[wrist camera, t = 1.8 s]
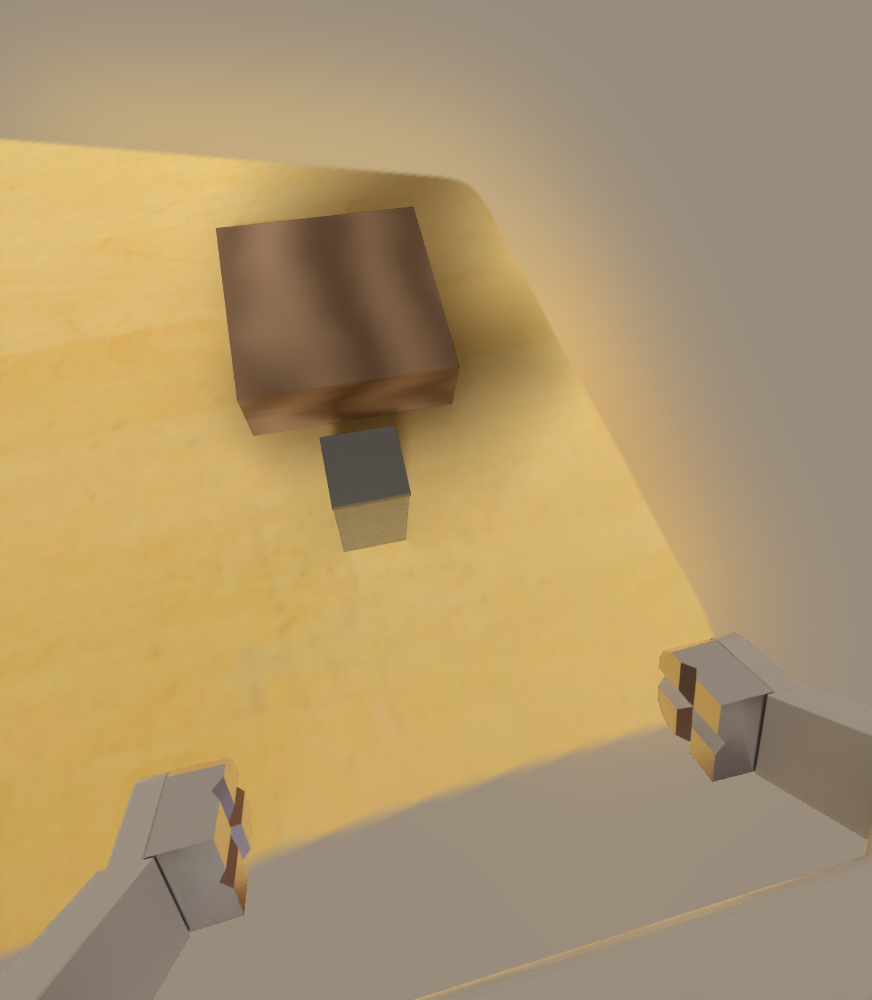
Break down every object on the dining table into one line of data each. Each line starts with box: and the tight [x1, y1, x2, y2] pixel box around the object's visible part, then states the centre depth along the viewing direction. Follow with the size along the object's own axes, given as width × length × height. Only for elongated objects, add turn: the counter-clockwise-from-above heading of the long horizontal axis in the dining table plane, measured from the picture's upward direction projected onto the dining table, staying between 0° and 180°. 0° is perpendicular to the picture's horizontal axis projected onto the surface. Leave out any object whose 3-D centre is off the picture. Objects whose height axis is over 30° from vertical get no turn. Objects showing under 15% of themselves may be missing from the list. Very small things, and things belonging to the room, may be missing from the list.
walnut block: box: [216, 207, 459, 436], centre depth 41 cm, size 14×14×5 cm
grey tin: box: [320, 425, 411, 552], centre depth 34 cm, size 4×4×8 cm
